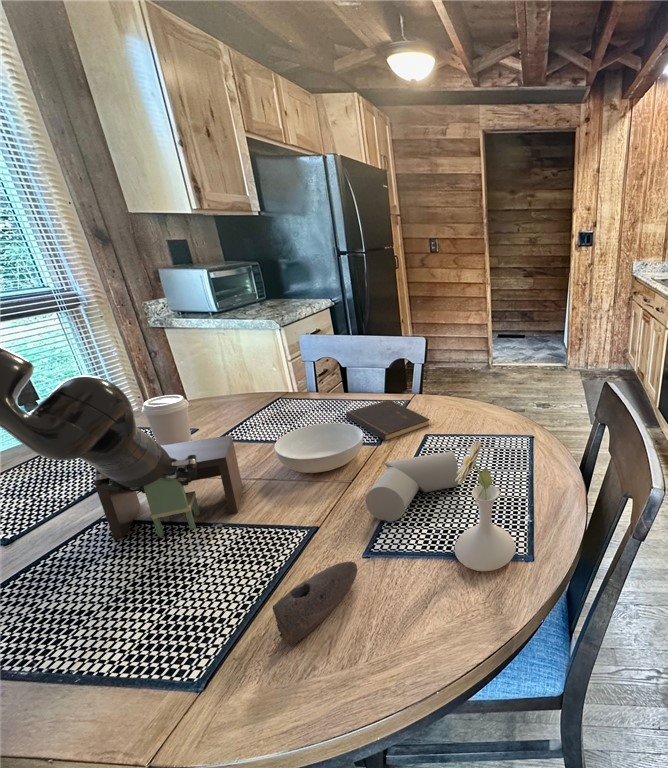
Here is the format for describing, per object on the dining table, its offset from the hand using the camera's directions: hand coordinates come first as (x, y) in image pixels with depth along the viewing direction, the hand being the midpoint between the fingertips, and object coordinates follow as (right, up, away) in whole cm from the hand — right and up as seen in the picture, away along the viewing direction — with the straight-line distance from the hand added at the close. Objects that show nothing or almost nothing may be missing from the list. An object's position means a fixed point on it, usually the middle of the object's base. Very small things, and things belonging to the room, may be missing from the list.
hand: (166, 483), depth 80 cm
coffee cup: (-23, +1, +31) cm, 39 cm away
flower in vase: (+61, -14, -2) cm, 62 cm away
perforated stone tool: (+36, -17, -14) cm, 42 cm away
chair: (-1, -9, +4) cm, 10 cm away
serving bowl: (+17, -1, +29) cm, 34 cm away
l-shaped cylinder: (+45, -7, +16) cm, 48 cm away
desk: (-3, -8, +8) cm, 12 cm away
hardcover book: (+26, +7, +54) cm, 60 cm away
